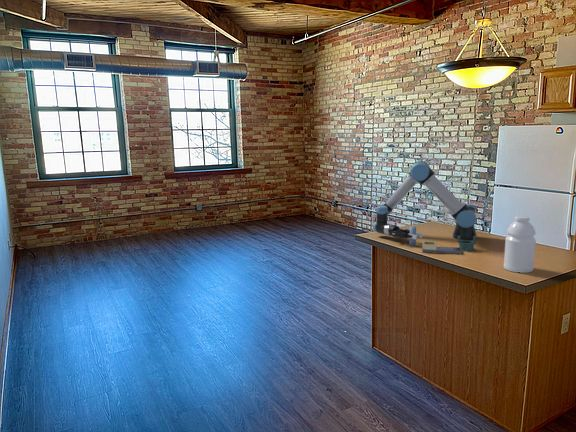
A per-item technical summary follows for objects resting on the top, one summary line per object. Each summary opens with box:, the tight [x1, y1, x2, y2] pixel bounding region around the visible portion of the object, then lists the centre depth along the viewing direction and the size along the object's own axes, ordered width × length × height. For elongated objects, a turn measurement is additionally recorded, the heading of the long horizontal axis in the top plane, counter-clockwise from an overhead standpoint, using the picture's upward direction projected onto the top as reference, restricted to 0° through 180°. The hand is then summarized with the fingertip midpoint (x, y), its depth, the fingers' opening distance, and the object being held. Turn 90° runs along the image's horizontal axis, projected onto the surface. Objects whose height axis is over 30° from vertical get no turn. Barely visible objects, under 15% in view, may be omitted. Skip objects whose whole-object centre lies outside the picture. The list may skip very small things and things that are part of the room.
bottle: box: [503, 215, 537, 274], centre depth 219 cm, size 14×14×28 cm
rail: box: [421, 240, 462, 255], centre depth 257 cm, size 22×8×5 cm, turn 73°
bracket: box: [456, 236, 477, 252], centre depth 260 cm, size 9×9×9 cm
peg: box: [408, 225, 417, 247], centre depth 273 cm, size 4×4×12 cm
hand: (419, 236), depth 269 cm, fingers open, 5 cm apart
